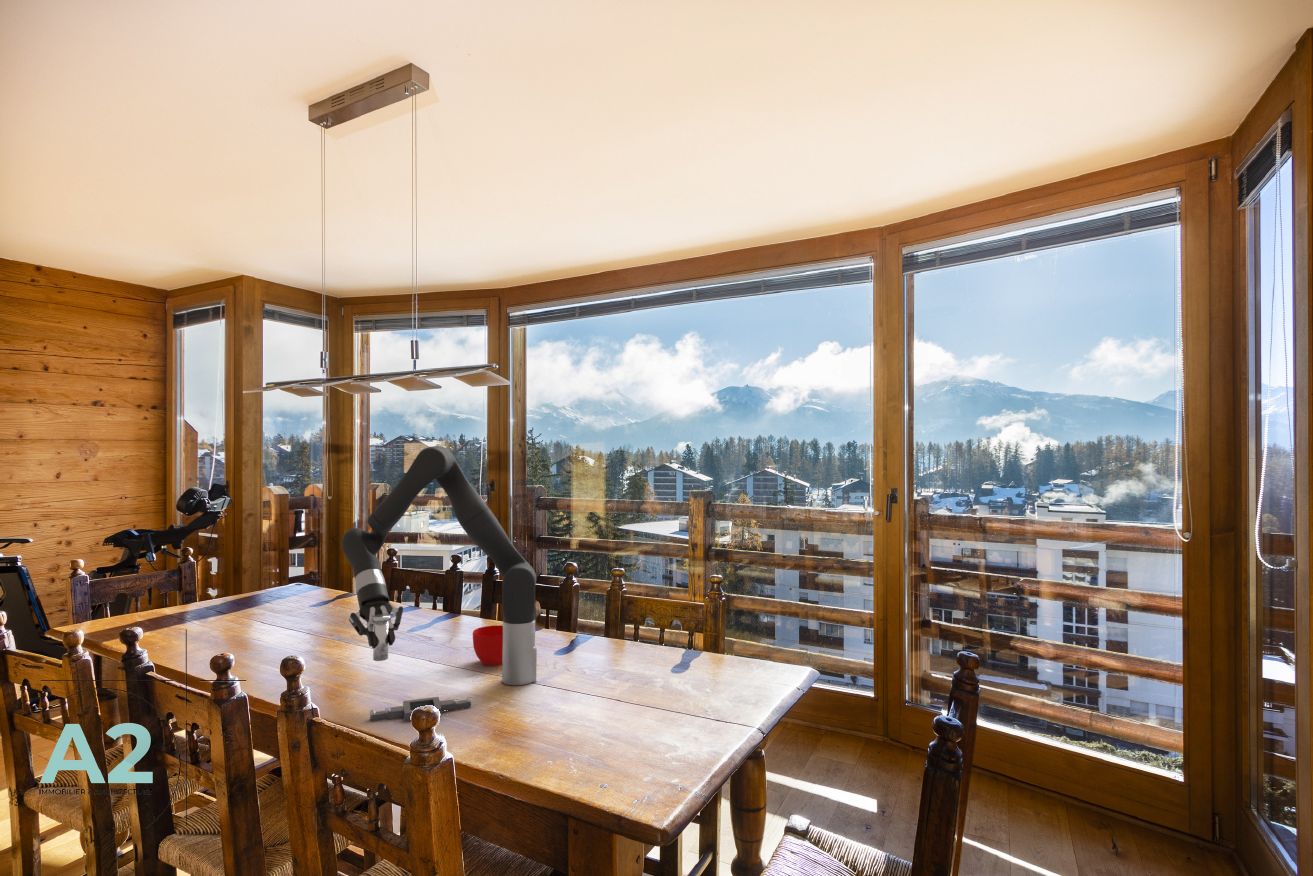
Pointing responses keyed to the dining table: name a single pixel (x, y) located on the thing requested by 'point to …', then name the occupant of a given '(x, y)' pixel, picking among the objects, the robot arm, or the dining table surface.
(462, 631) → the dining table surface
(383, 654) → the pin
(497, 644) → the ceramic cup
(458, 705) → the tap wrench handle
